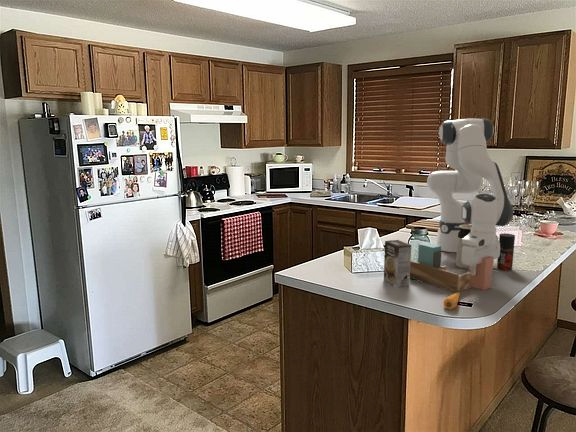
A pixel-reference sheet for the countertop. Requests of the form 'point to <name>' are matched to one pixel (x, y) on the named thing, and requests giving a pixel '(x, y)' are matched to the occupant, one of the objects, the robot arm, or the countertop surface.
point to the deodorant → (506, 252)
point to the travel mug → (461, 234)
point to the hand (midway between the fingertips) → (480, 273)
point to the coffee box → (397, 262)
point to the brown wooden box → (439, 277)
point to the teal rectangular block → (429, 254)
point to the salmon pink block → (483, 274)
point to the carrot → (451, 301)
